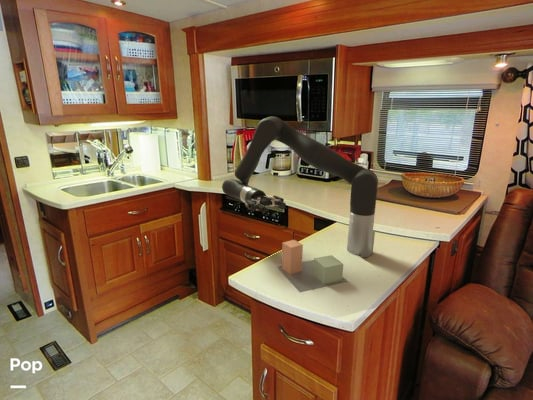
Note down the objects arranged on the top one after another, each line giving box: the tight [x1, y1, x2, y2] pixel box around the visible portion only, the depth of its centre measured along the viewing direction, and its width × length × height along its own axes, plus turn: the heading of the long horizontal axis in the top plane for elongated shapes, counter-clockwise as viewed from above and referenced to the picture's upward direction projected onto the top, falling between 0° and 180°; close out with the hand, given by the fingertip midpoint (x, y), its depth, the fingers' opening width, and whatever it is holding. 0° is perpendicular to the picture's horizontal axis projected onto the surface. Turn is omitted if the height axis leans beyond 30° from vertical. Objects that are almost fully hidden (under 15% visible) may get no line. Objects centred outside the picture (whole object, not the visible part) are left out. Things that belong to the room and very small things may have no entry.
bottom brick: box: [313, 254, 344, 284], centre depth 115 cm, size 7×7×6 cm
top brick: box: [281, 239, 304, 274], centre depth 119 cm, size 5×5×10 cm
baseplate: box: [276, 259, 349, 293], centre depth 118 cm, size 18×18×1 cm
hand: (275, 207), depth 124 cm, fingers open, 8 cm apart
